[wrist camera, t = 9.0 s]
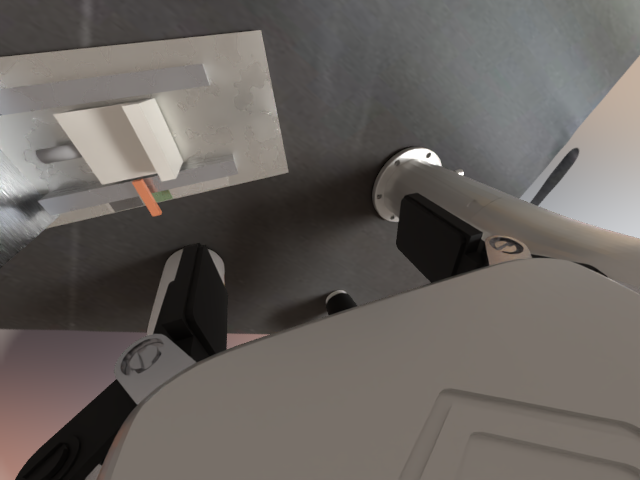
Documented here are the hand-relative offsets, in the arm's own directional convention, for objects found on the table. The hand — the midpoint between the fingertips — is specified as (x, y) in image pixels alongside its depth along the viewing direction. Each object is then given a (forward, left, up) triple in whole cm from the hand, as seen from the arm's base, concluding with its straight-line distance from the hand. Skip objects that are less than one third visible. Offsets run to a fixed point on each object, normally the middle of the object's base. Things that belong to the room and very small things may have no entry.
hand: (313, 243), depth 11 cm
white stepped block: (+14, -1, -21) cm, 25 cm away
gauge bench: (+11, -3, -22) cm, 25 cm away
